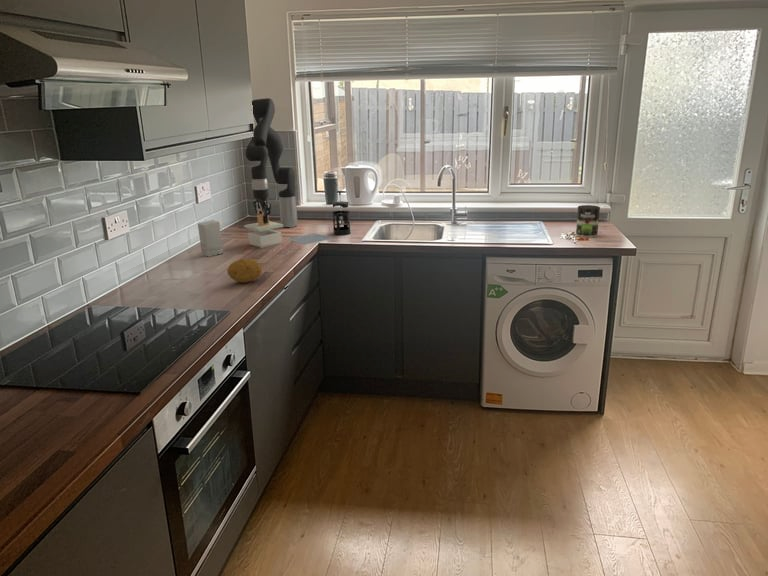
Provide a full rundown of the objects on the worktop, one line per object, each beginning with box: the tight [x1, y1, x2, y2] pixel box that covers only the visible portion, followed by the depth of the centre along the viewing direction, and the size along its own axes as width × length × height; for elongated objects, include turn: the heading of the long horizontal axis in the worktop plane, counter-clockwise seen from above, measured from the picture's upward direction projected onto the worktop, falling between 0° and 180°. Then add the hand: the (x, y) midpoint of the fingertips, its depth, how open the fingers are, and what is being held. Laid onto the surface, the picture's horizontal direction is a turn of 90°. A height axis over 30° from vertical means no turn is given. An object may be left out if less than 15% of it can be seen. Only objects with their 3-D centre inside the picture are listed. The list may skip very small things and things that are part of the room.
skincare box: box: [197, 220, 224, 258], centre depth 269 cm, size 8×7×16 cm
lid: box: [243, 214, 284, 232], centre depth 285 cm, size 14×14×6 cm
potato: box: [227, 258, 262, 284], centre depth 225 cm, size 10×13×9 cm
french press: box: [331, 190, 352, 237], centre depth 302 cm, size 12×9×23 cm
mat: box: [285, 233, 334, 245], centre depth 296 cm, size 18×18×1 cm
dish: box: [247, 229, 283, 249], centre depth 287 cm, size 12×12×6 cm
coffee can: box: [575, 204, 601, 238], centre depth 283 cm, size 10×10×14 cm
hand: (263, 222), depth 285 cm, fingers closed on lid, 4 cm apart
